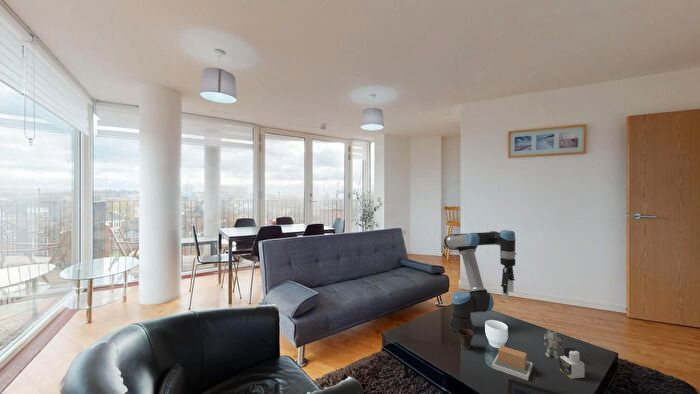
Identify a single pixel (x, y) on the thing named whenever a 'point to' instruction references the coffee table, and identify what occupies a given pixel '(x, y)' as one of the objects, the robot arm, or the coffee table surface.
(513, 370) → the framed panel
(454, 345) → the coffee table surface
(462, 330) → the cup
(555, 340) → the figurine
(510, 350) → the tan rectangular pillar
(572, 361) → the medicine bottle
